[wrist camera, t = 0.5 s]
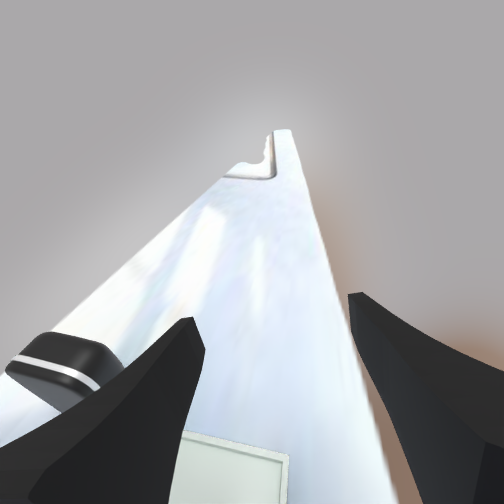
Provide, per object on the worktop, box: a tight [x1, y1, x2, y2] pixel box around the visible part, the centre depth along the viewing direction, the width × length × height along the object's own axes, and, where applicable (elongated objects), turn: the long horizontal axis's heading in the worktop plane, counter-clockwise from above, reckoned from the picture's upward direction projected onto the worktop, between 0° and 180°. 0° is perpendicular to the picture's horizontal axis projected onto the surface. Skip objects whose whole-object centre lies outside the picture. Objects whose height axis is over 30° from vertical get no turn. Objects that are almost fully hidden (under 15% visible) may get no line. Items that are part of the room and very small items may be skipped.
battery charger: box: [5, 332, 125, 413], centre depth 21 cm, size 7×4×11 cm, turn 77°
